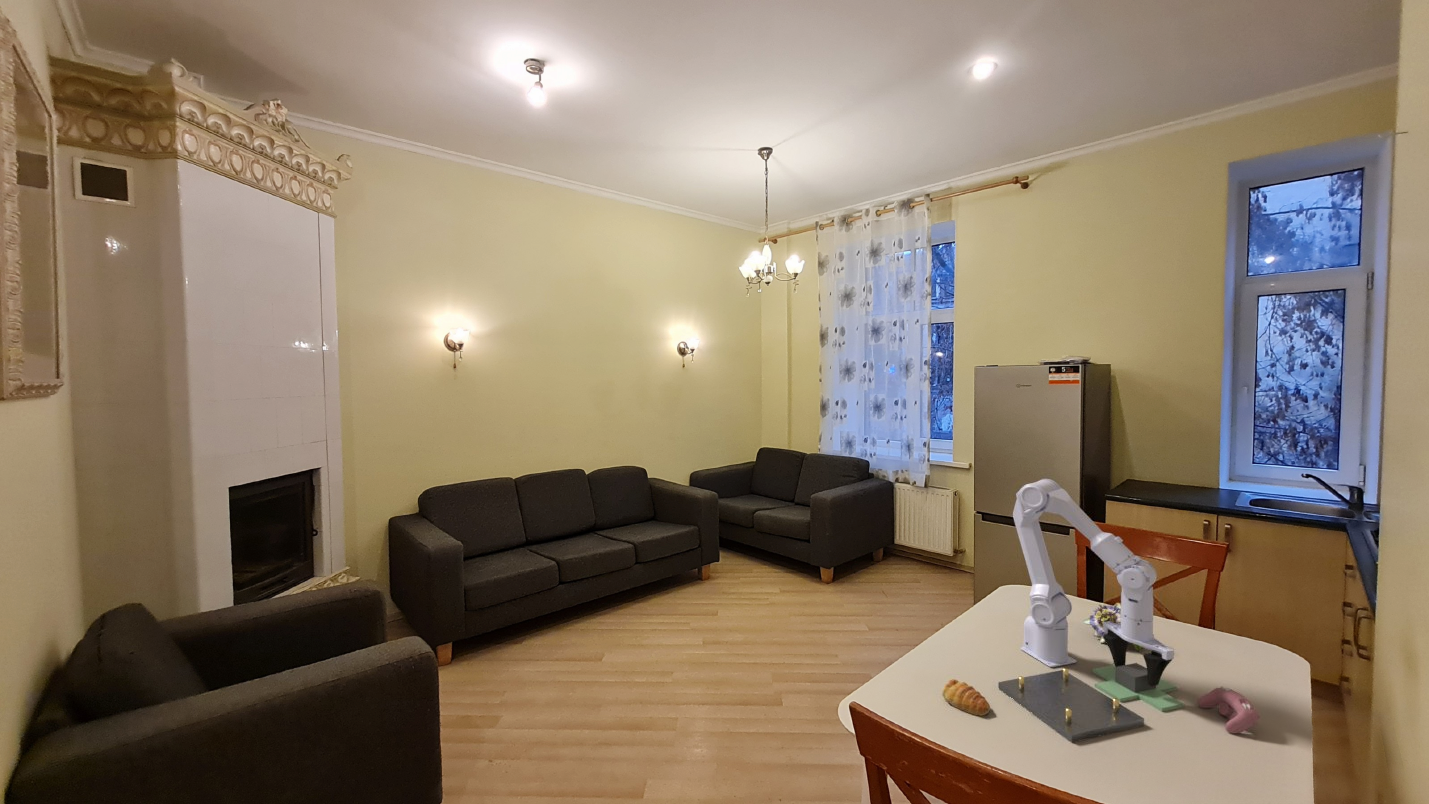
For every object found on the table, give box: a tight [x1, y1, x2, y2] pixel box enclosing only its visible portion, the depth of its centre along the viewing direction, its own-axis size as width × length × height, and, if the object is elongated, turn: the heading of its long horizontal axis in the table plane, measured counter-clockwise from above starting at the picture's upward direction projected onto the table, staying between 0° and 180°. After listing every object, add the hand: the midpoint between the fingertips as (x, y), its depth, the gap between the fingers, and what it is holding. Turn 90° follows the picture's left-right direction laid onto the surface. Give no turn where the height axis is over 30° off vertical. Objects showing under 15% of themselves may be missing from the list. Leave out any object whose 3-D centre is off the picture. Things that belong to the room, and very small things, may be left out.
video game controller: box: [1197, 685, 1260, 734], centre depth 112 cm, size 10×5×7 cm, turn 169°
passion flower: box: [1082, 602, 1142, 652], centre depth 145 cm, size 11×11×12 cm
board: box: [1091, 662, 1185, 713], centre depth 124 cm, size 16×16×4 cm
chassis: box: [997, 667, 1145, 743], centre depth 118 cm, size 19×18×4 cm
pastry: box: [941, 678, 991, 717], centre depth 120 cm, size 9×7×4 cm
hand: (1136, 675), depth 124 cm, fingers open, 7 cm apart
